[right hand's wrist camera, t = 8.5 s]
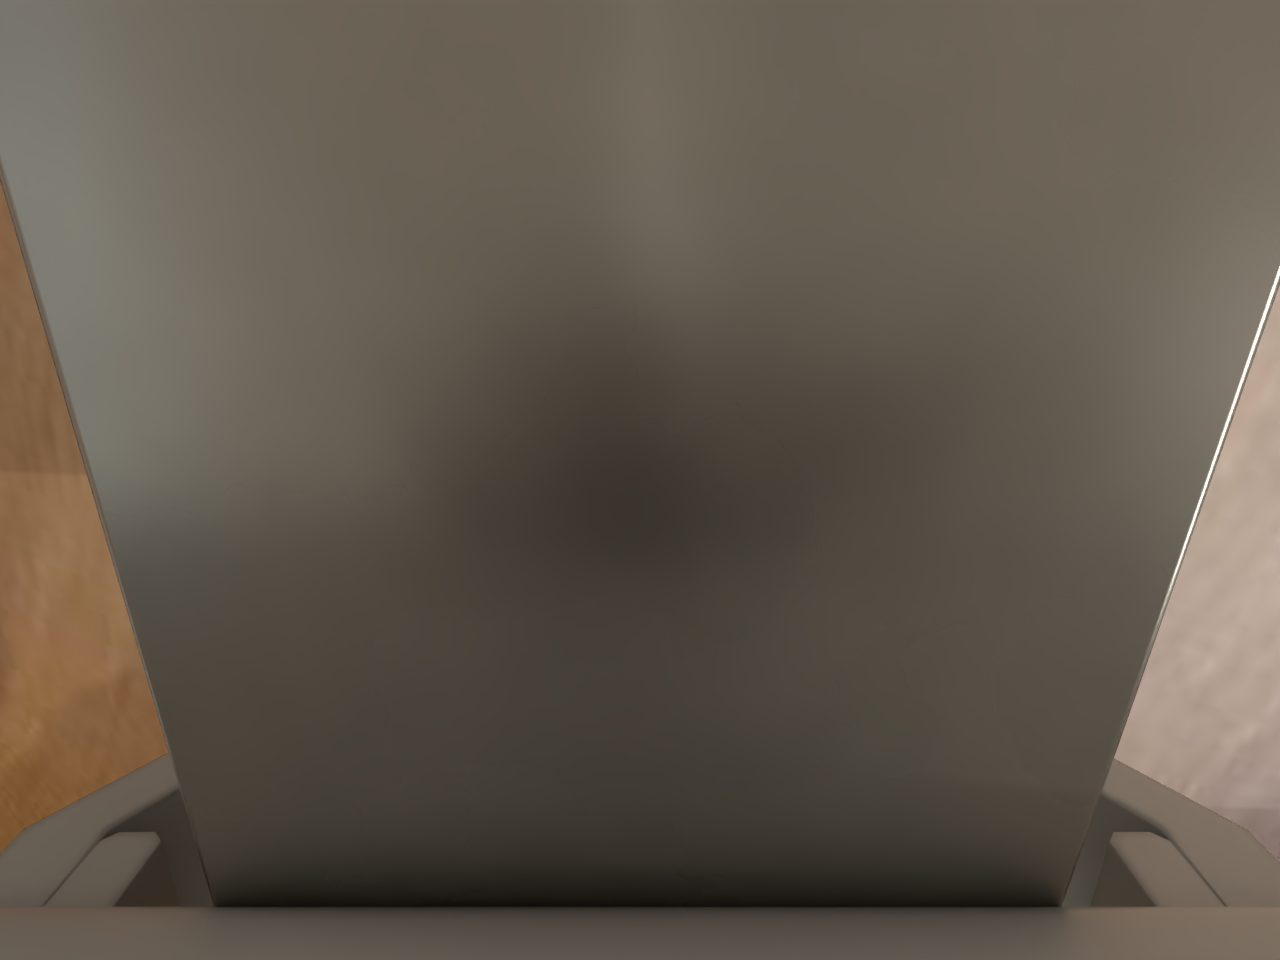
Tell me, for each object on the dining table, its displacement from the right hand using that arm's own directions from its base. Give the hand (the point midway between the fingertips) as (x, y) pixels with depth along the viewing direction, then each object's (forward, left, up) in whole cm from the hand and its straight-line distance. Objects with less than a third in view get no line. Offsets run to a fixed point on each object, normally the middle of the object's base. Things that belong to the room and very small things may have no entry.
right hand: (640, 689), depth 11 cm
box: (+9, 0, -6) cm, 11 cm away
